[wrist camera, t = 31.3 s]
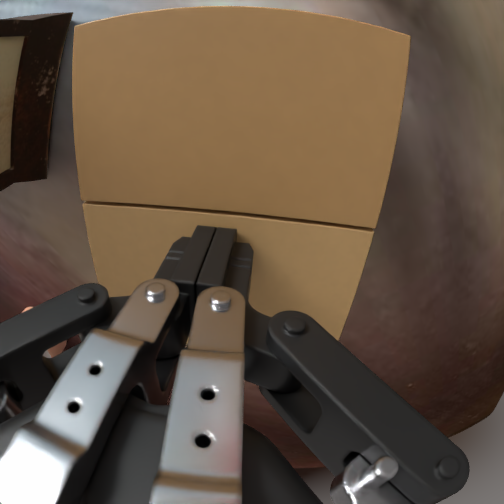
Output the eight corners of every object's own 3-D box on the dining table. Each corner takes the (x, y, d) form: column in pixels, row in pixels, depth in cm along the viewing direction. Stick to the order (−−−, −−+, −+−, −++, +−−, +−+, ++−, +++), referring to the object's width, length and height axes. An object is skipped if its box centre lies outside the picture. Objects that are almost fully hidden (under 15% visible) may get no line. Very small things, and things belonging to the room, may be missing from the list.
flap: (330, 353, 15) (331, 358, 15) (113, 324, 16) (110, 329, 15) (372, 227, 11) (374, 232, 11) (86, 200, 12) (81, 203, 11)
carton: (316, 254, 24) (332, 359, 15) (164, 238, 24) (110, 330, 15) (348, 53, 16) (413, 34, 7) (164, 41, 16) (73, 24, 7)
